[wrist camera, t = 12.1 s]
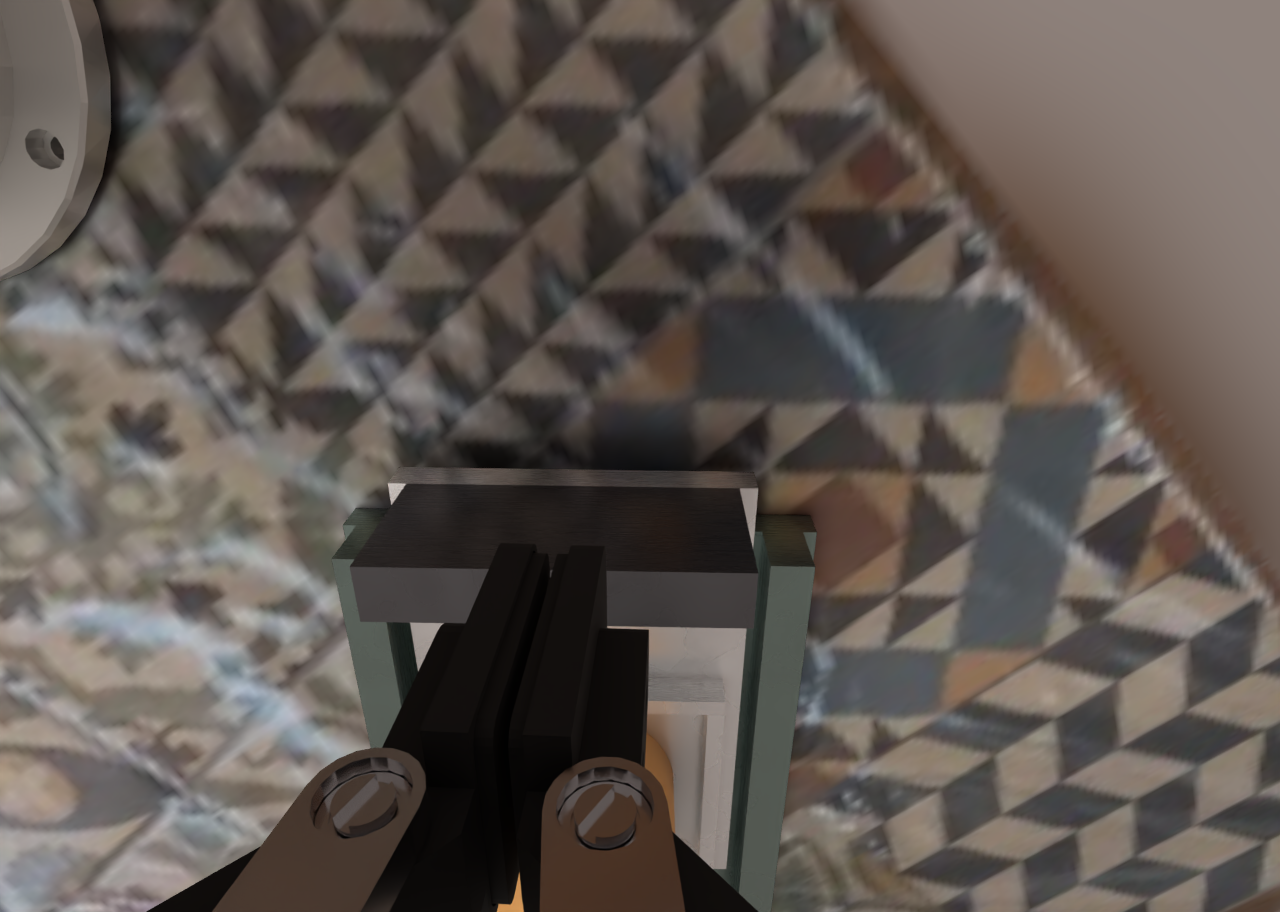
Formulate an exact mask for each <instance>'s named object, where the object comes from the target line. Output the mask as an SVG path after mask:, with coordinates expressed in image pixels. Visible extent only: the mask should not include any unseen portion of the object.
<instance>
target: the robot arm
mask: <svg viewBox="0 0 1280 912" xmlns="http://www.w3.org/2000/svg"><path fill="white" fill-rule="evenodd" d="M110 133H111V91H110V72H109V67H108V62H107V56H106V51H105V46H104V40H103V35H102V30H101V24H100V19H99V16H98V13H97V10H96V7H95V4H94V2H93V0H0V281H2V280H5V279H7V278H10V277H12V276H15V275H17V274H20V273H22V272H25V271H27V270H30V269H31V268H32V267H34V266H35V265H36V264H38V263H39V262H40V261H42V260H43V259H45V258H46V257H47V256H49V255H50V254H51V253H53V252H54V251H55V250H57V249H58V248H59V247H61V245H62V244H63V243H64V242H65V240H66V239H67V238H68V237H69V235H70V234H71V233H72V232H73V230H74V229H75V228H76V226H77V225H78V224H79V223H80V221H81V220H82V219H83V218H84V216H85V215H86V212H87V210H88V208H89V206H90V203H91V201H92V199H93V197H94V194H95V192H96V190H97V187H98V185H99V183H100V181H101V178H102V176H103V170H104V165H105V159H106V154H107V149H108V143H109V138H110ZM648 679H649V630H646V629H617V628H607V573H606V548H605V546H590V545H571V547H570V550H569V554H557V556H556V560H555V563H554V567H553V570H552V574H551V577H550V563H549V555H548V553H537V547H536V545H535V544H522V543H500V545H499V546H498V548H497V551H496V553H495V555H494V558H493V560H492V563H491V565H490V567H489V570H488V572H487V574H486V577H485V579H484V581H483V584H482V586H481V588H480V591H479V593H478V595H477V598H476V600H475V602H474V605H473V607H472V609H471V612H470V614H469V617H468V619H467V621H466V623H444V624H442V625H441V626H440V628H439V630H438V631H437V633H436V635H435V637H434V639H433V641H432V644H431V646H430V648H429V650H428V652H427V654H426V656H425V658H424V660H423V662H422V665H421V667H420V669H419V671H418V673H417V675H416V677H415V679H414V681H413V684H412V686H411V688H410V690H409V692H408V694H407V696H406V698H405V700H404V702H403V705H402V707H401V709H400V711H399V713H398V715H397V717H396V719H395V721H394V723H393V726H392V728H391V730H390V732H389V734H388V736H387V738H386V740H385V742H384V745H383V747H382V748H370V749H365V750H360V751H356V752H353V753H351V754H349V755H346V756H344V757H341V758H339V759H337V760H336V761H334V762H333V763H331V764H330V765H328V766H327V767H325V768H324V769H322V770H321V771H320V772H319V773H318V774H317V775H316V776H315V777H314V778H313V779H312V780H311V781H310V782H309V783H308V784H307V785H306V787H305V788H304V789H303V791H302V792H301V793H300V795H299V796H298V797H297V799H296V800H295V801H294V803H293V804H292V805H291V807H290V808H289V809H288V811H287V812H286V813H285V815H284V816H283V817H282V819H281V820H280V821H279V823H278V824H277V825H276V827H275V828H274V829H273V831H272V832H271V833H270V835H269V836H268V837H267V839H266V840H265V841H264V843H263V844H262V845H261V846H260V847H259V848H257V849H255V850H253V851H252V852H250V853H248V854H246V855H245V856H243V857H241V858H239V859H238V860H236V861H234V862H232V863H231V864H229V865H227V866H225V867H224V868H222V869H220V870H218V871H217V872H215V873H213V874H211V875H210V876H208V877H206V878H204V879H203V880H201V881H199V882H197V883H196V884H194V885H192V886H190V887H189V888H187V889H185V890H183V891H182V892H180V893H178V894H176V895H175V896H173V897H171V898H169V899H168V900H166V901H164V902H162V903H161V904H159V905H157V906H155V907H154V908H152V909H150V910H148V911H147V912H497V909H498V905H499V904H507V905H511V903H512V902H513V899H514V895H515V891H516V886H517V881H518V877H519V873H520V884H521V894H522V903H523V910H524V912H758V911H757V910H756V909H755V908H754V907H753V906H752V905H751V904H750V903H749V902H748V901H747V900H746V899H744V898H743V897H742V896H741V895H740V894H739V893H738V892H737V891H736V890H735V889H734V888H733V887H732V886H731V885H729V884H728V883H727V882H726V881H725V880H724V879H723V878H722V877H721V876H720V875H719V874H718V873H717V872H716V871H714V870H713V869H712V868H711V867H710V866H709V865H708V864H707V863H706V862H705V861H704V860H703V859H702V858H701V857H699V856H698V855H697V854H696V853H695V852H694V851H693V850H692V849H691V848H690V847H689V846H688V845H687V844H685V843H684V842H683V841H682V840H681V839H680V838H679V837H678V836H677V835H676V834H675V833H674V832H673V831H672V827H671V821H670V815H669V808H668V802H667V799H666V796H665V793H664V790H663V787H662V785H661V784H660V782H659V781H658V780H657V779H656V778H655V776H654V775H653V774H652V773H651V772H650V771H649V770H647V769H645V753H646V733H647V711H648Z"/></svg>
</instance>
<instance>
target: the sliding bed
mask: <svg viewBox="0 0 1280 912" xmlns="http://www.w3.org/2000/svg"><path fill="white" fill-rule="evenodd" d="M388 488H389V494H390V500H391V507H390V508H389V510H388V511H387V512H386V514H385V515H384V517H383V518H382V520H381V521H380V523H379V524H378V526H377V527H376V529H375V530H374V532H373V533H372V534H371V536H370V537H369V539H368V540H367V542H366V543H365V545H364V546H363V548H362V549H361V551H360V552H359V554H358V555H357V557H356V558H355V559H354V561H353V562H352V564H351V565H350V572H351V577H352V582H353V587H354V592H355V598H356V603H357V608H358V613H359V618H360V622H401V623H410V625H411V631H412V637H413V643H414V650H415V656H416V662H417V668H418V671H419V669H420V667H421V665H422V662H423V660H424V658H425V656H426V654H427V652H428V650H429V648H430V646H431V644H432V641H433V639H434V637H435V635H436V633H437V631H438V630H439V628H440V626H441V625H442V624H444V623H466V621H467V619H468V617H469V614H470V612H471V609H472V607H473V605H474V602H475V600H476V598H477V595H478V593H479V591H480V588H481V586H482V584H483V581H484V579H485V577H486V574H487V572H488V570H489V567H490V565H491V563H492V560H493V558H494V555H495V553H496V551H497V548H498V546H499V545H500V543H522V544H535V545H536V547H537V553H548V555H549V563H550V577H551V574H552V570H553V567H554V563H555V560H556V556H557V554H569V550H570V547H571V545H590V546H605V548H606V573H607V628H617V629H646V630H649V679H648V711H647V733H648V734H649V735H651V736H652V737H653V738H654V739H655V740H656V741H657V742H658V743H659V744H660V746H661V747H662V749H663V750H664V751H665V753H666V755H667V757H668V759H669V761H670V764H671V767H672V772H673V783H674V813H675V834H676V835H677V836H678V837H679V838H680V839H681V840H682V841H683V842H684V843H685V844H687V845H688V846H689V847H690V848H691V849H692V850H693V851H694V852H695V853H696V854H697V855H698V856H699V857H701V858H702V859H703V860H704V861H705V862H706V863H707V864H708V865H709V866H710V867H711V868H712V869H726V866H727V854H728V842H729V830H730V818H731V807H732V795H733V783H734V771H735V759H736V747H737V735H738V723H739V712H740V700H741V688H742V676H743V664H744V652H745V640H746V629H754V619H755V608H756V597H757V585H758V574H759V573H758V569H757V564H756V560H755V555H754V551H753V545H754V534H755V522H756V510H757V498H758V486H757V482H756V478H755V475H754V472H718V471H647V470H575V469H504V468H432V467H399V469H398V470H397V471H396V473H395V474H394V475H393V477H392V478H391V480H390V481H389V482H388Z"/></svg>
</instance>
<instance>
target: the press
mask: <svg viewBox="0 0 1280 912" xmlns="http://www.w3.org/2000/svg"><path fill="white" fill-rule="evenodd" d="M388 510H389V509H355V510H354V511H353V513H352V514H351V515H350V517H349V518H348V519H347V520H346V522H345V523H344V524H343V529H344V534H345V539H346V540H345V541H344V543H343V544H342V546H341V547H340V548H339V550H338V551H337V552H336V554H335V555H334V556H333V558H332V563H333V568H334V573H335V578H336V583H337V587H338V592H339V597H340V602H341V607H342V612H343V616H344V621H345V626H346V631H347V636H348V640H349V645H350V650H351V655H352V660H353V664H354V669H355V674H356V679H357V684H358V688H359V693H360V698H361V703H362V708H363V713H364V717H365V722H366V727H367V732H368V737H369V741H370V746H371V748H382V747H383V745H384V742H385V740H386V738H387V736H388V734H389V732H390V730H391V728H392V726H393V723H394V721H395V719H396V717H397V715H398V713H399V711H400V709H401V707H402V705H403V702H404V700H405V698H406V696H407V694H408V692H409V690H410V688H411V686H412V684H413V681H414V679H415V677H416V675H417V673H418V668H417V662H416V656H415V650H414V643H413V637H412V631H411V625H410V623H401V622H360V618H359V613H358V608H357V603H356V598H355V592H354V587H353V582H352V577H351V572H350V565H351V564H352V562H353V561H354V559H355V558H356V557H357V555H358V554H359V552H360V551H361V549H362V548H363V546H364V545H365V543H366V542H367V540H368V539H369V537H370V536H371V534H372V533H373V532H374V530H375V529H376V527H377V526H378V524H379V523H380V521H381V520H382V518H383V517H384V515H385V514H386V512H387V511H388ZM816 535H817V532H816V529H815V527H814V524H813V521H812V519H811V516H810V515H756V522H755V534H754V545H753V551H754V555H755V560H756V564H757V569H758V573H759V574H758V585H757V597H756V608H755V619H754V629H746V640H745V652H744V664H743V676H742V688H741V700H740V712H739V723H738V735H737V747H736V759H735V771H734V783H733V795H732V807H731V818H730V830H729V842H728V854H727V866H726V869H713V870H714V871H716V872H717V873H718V874H719V875H720V876H721V877H722V878H723V879H724V880H725V881H726V882H727V883H728V884H729V885H731V886H732V887H733V888H734V889H735V890H736V891H737V892H738V893H739V894H740V895H741V896H742V897H743V898H744V899H746V900H747V901H748V902H749V903H750V904H751V905H752V906H753V907H754V908H755V909H756V910H757V911H758V912H771V907H772V899H773V892H774V884H775V876H776V868H777V860H778V853H779V845H780V837H781V829H782V822H783V814H784V806H785V798H786V790H787V783H788V775H789V767H790V759H791V752H792V744H793V736H794V728H795V721H796V713H797V705H798V697H799V689H800V682H801V674H802V666H803V658H804V651H805V643H806V635H807V627H808V619H809V612H810V604H811V596H812V588H813V581H814V573H815V565H814V562H813V559H814V551H815V543H816Z"/></svg>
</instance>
